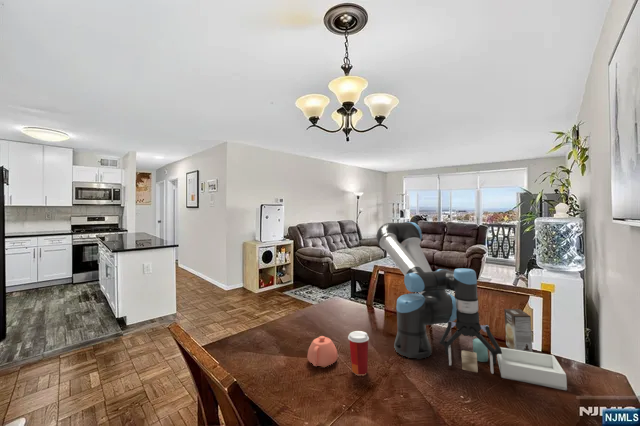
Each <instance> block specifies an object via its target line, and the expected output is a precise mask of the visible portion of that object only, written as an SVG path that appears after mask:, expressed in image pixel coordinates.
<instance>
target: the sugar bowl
mask: <svg viewBox="0 0 640 426" xmlns="http://www.w3.org/2000/svg"><path fill="white" fill-rule="evenodd" d="M338 357H339V355H338V349H337V348H336V346H335V344H334V342H333V340H331V338H329V337H326V336H324V335H321V336H318V337H317V338H316V337H315V338H314V339H313V340H312V341H311V344H310V346H309V347H308V349H307V360H308V362H309V363H310V364H311V363H312V364H313V365H312V364H311V365H312V366H314V367H317V366H328V365H330V366H332V365H334V364H335V362H337V360H338ZM333 363H334V364H333ZM331 364H332V365H331ZM328 367H329V366H328Z"/></svg>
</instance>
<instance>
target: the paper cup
mask: <svg viewBox="0 0 640 426" xmlns="http://www.w3.org/2000/svg"><path fill="white" fill-rule="evenodd" d="M347 339H348V342H349V352H350V362H351V371H353V372H354V373H356V374H365V373H367V374H368V371H369V370H368V369H369V368H368V366H369V361H368V360H369V359H368V358H369V357H368V356H369V340H370V337H369V334H368V333H367V332H365V331H361V330H355V331H352V332H351V331H350V333H349V334H348V337H347ZM353 372H352V373H353Z"/></svg>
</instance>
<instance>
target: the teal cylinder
mask: <svg viewBox="0 0 640 426" xmlns="http://www.w3.org/2000/svg"><path fill="white" fill-rule="evenodd" d="M472 352H475V353H477V362H481V363H487V362H489V350H488V349H487V347H486V346H485V345H484V344H483V343H482V342H481V341H480V340H479V339H478V338H477V337H476V338H473V339H472Z"/></svg>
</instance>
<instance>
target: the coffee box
mask: <svg viewBox="0 0 640 426" xmlns="http://www.w3.org/2000/svg"><path fill="white" fill-rule="evenodd" d="M503 312H504V313H503V314H504V325H505V326H504V327H505V328H504V329H505V344H506V346H507V348H508V349H514V350H521V351H527V352H533V338H532V336H533V335H532V317H531V315H529V314H528V313H526V312H525V311H524V310H522V309H521V308H504V311H503Z"/></svg>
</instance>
